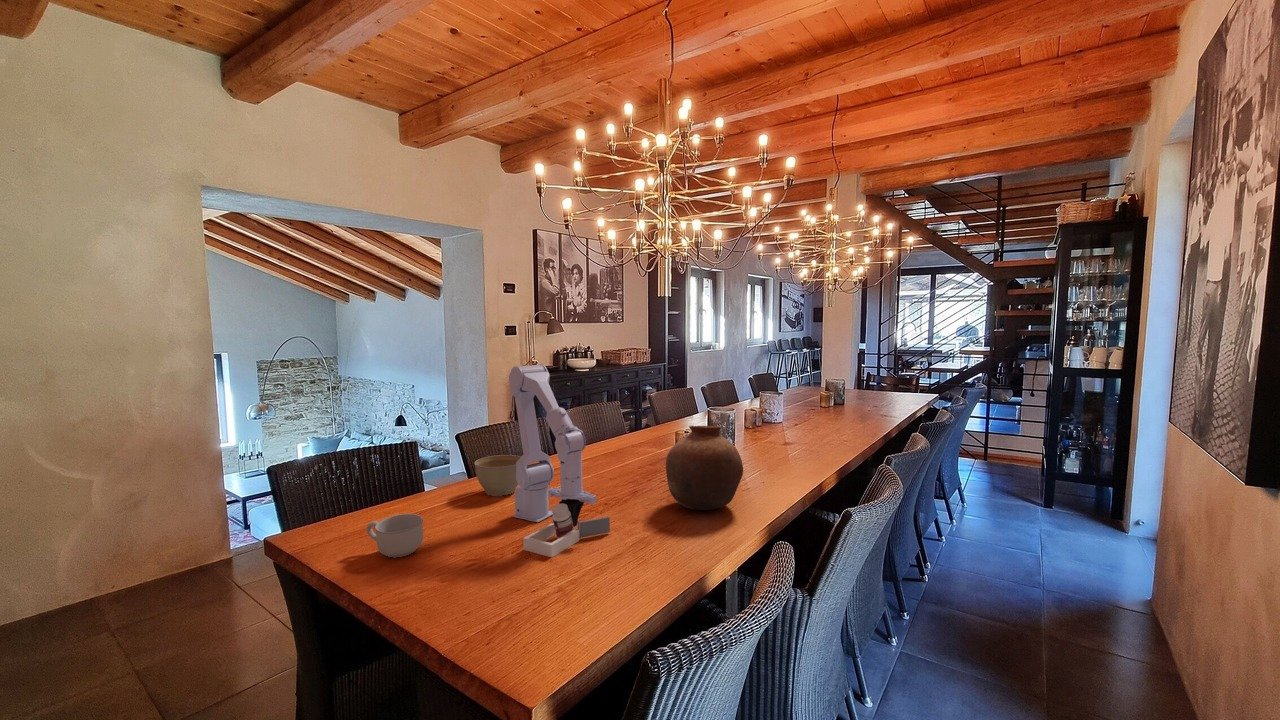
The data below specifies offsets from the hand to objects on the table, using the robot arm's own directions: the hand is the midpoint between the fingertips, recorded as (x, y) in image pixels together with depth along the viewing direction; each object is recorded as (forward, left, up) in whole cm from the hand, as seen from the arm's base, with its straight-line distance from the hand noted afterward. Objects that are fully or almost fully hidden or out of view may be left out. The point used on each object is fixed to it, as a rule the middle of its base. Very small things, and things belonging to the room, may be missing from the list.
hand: (572, 526), depth 141 cm
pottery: (+23, +35, -2) cm, 42 cm away
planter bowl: (-42, +16, -2) cm, 45 cm away
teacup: (-32, -30, -2) cm, 44 cm away
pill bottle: (0, -3, -2) cm, 3 cm away
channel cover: (+6, +1, -2) cm, 6 cm away
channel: (0, -8, -2) cm, 8 cm away
